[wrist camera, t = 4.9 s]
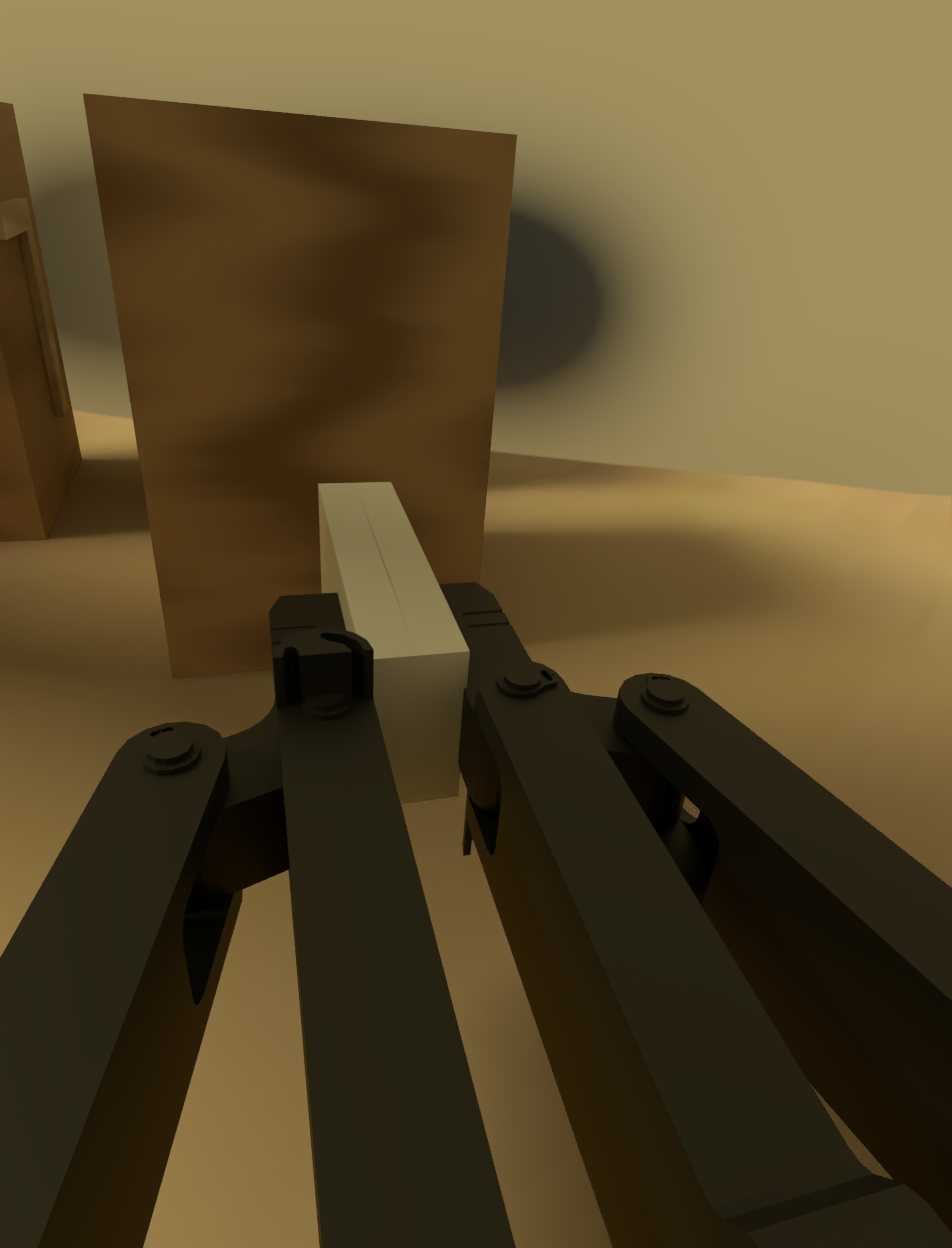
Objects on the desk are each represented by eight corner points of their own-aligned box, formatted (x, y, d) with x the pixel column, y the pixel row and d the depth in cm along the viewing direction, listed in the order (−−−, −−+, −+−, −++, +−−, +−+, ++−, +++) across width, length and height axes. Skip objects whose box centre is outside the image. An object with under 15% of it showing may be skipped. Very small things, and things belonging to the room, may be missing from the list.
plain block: (173, 678, 22) (82, 92, 15) (185, 544, 30) (128, 108, 23) (473, 651, 25) (516, 134, 18) (416, 534, 32) (430, 136, 25)
